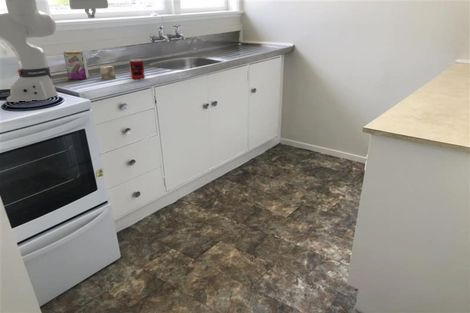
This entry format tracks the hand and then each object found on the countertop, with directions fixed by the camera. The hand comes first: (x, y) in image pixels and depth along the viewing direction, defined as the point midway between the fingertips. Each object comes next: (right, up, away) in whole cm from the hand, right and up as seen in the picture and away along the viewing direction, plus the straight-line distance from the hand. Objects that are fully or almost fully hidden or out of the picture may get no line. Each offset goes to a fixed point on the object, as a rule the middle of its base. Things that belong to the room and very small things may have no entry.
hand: (91, 18), depth 191 cm
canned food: (+18, -27, +26) cm, 42 cm away
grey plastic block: (+15, -22, +36) cm, 45 cm away
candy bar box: (-20, -26, +29) cm, 44 cm away
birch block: (-1, -26, +28) cm, 39 cm away
